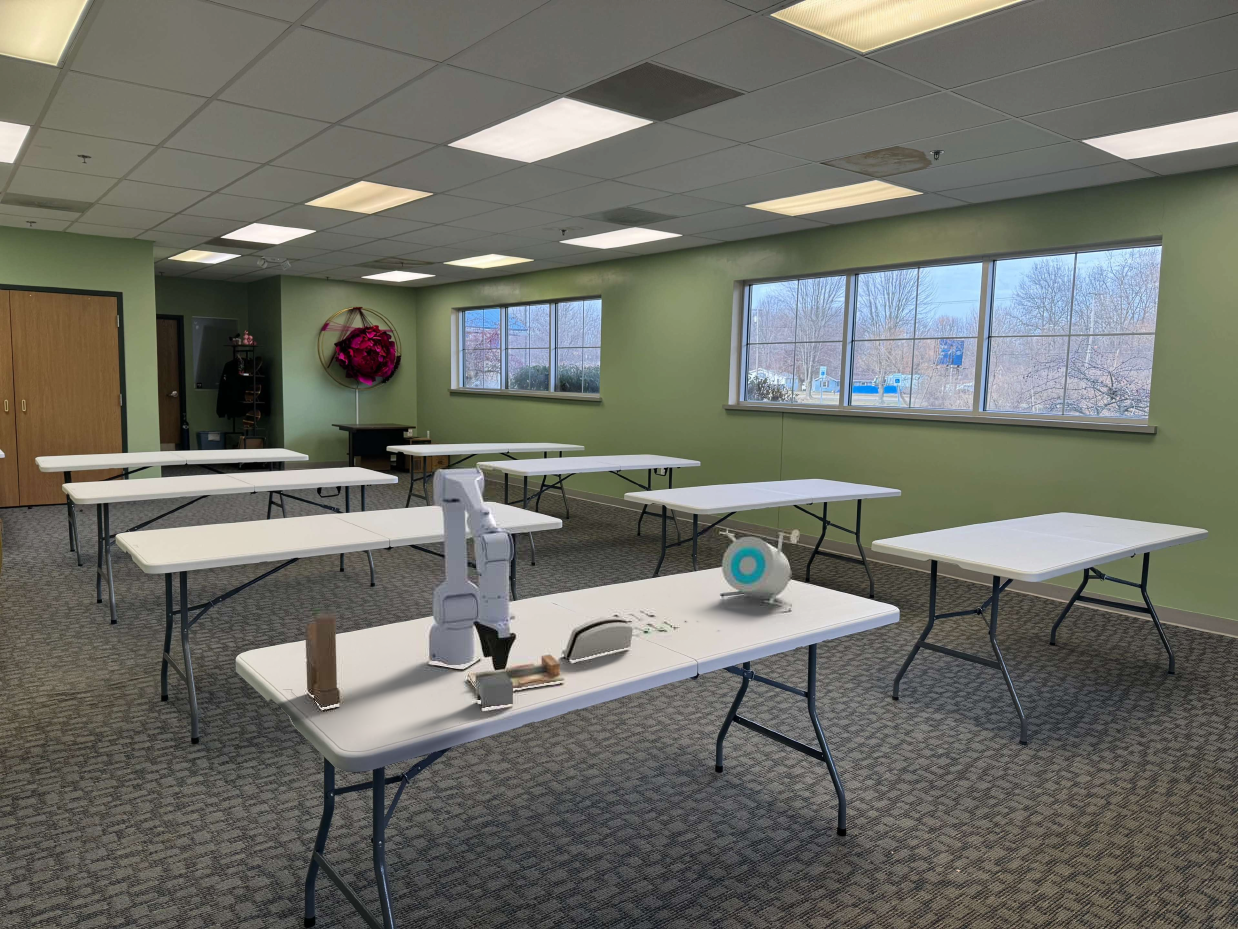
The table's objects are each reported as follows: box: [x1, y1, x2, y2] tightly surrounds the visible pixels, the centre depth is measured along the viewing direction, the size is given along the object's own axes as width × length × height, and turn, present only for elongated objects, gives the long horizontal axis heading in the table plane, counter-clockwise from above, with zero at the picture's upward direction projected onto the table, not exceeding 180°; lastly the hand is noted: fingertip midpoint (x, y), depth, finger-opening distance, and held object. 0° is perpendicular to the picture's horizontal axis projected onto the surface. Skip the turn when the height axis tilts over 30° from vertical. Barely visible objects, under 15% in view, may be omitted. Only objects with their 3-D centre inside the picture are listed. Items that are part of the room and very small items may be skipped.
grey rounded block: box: [561, 616, 634, 660], centre depth 185 cm, size 17×5×10 cm, turn 126°
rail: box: [467, 654, 565, 688], centre depth 168 cm, size 18×10×4 cm, turn 114°
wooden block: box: [304, 613, 341, 708], centre depth 156 cm, size 4×11×18 cm, turn 35°
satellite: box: [718, 528, 800, 612], centre depth 233 cm, size 23×20×25 cm
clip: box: [475, 674, 514, 708], centre depth 156 cm, size 6×5×5 cm
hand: (494, 662), depth 155 cm, fingers open, 7 cm apart
